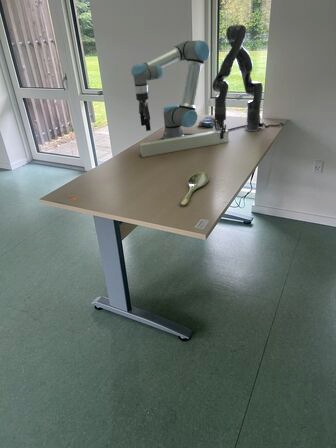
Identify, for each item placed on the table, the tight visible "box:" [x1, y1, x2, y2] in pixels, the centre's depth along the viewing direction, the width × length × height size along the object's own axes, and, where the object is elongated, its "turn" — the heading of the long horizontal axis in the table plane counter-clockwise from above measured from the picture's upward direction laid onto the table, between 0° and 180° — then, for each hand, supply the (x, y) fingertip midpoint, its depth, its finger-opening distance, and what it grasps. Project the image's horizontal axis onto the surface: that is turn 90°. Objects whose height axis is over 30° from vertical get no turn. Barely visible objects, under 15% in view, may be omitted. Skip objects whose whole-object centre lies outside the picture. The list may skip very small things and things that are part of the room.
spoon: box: [180, 171, 210, 207], centre depth 170 cm, size 35×11×2 cm, turn 159°
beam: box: [139, 129, 229, 158], centre depth 225 cm, size 61×5×8 cm, turn 107°
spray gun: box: [198, 116, 216, 128], centre depth 272 cm, size 21×4×15 cm
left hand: (145, 127), depth 212 cm, fingers open, 13 cm apart
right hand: (220, 137), depth 231 cm, fingers closed on beam, 5 cm apart
